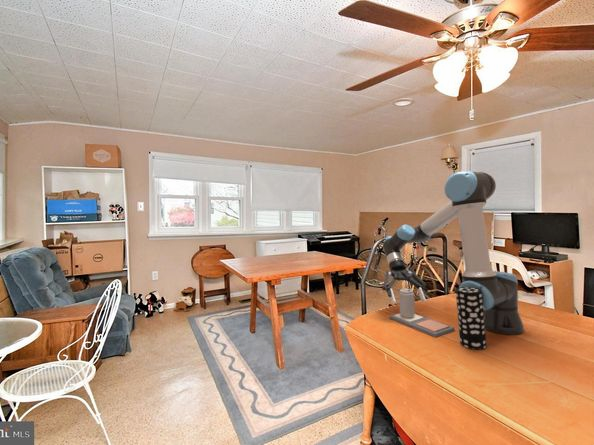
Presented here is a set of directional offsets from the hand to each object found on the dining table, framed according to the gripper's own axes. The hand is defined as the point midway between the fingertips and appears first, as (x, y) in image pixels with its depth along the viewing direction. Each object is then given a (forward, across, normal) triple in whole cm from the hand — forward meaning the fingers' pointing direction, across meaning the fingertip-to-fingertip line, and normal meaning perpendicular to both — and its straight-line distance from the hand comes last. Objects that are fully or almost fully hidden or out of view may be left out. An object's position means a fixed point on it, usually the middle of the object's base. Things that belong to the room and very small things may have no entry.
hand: (409, 302), depth 128 cm
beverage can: (+4, 0, -6) cm, 7 cm away
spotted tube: (+23, -13, +12) cm, 29 cm away
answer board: (+9, -3, -3) cm, 10 cm away
